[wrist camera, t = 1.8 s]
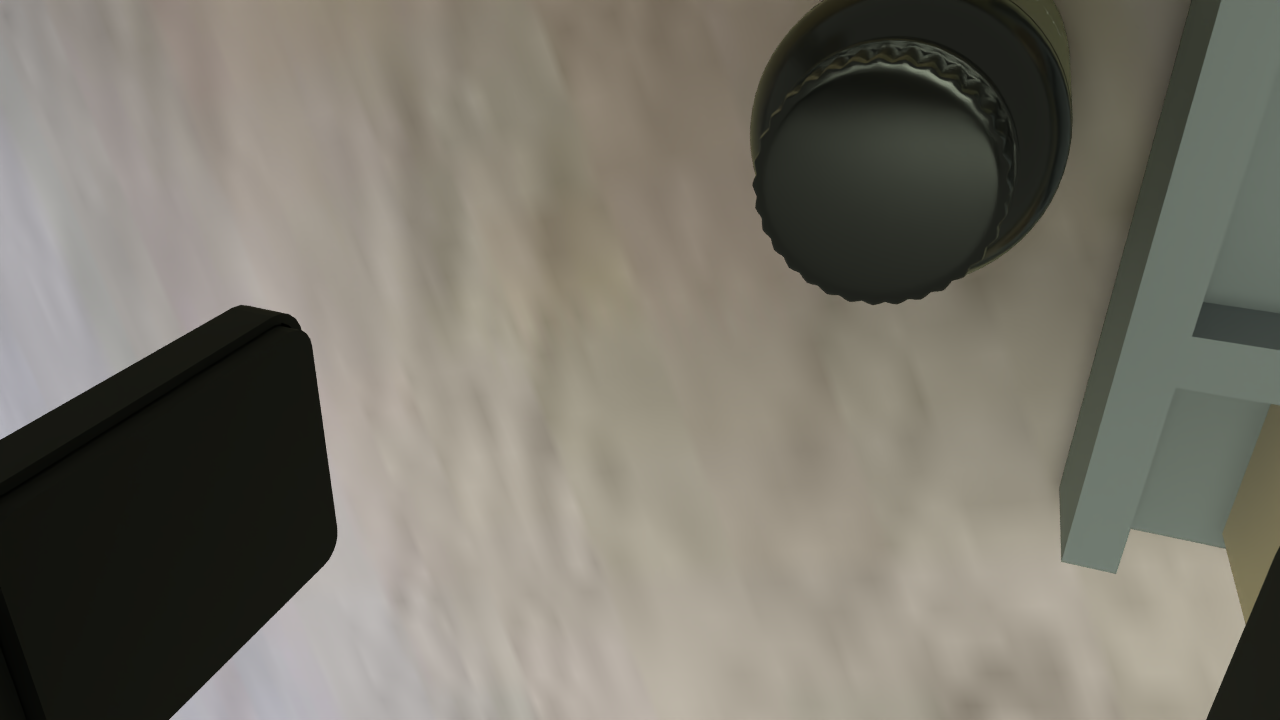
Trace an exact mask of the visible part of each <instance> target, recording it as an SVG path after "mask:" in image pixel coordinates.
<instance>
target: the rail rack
mask: <svg viewBox="0 0 1280 720" xmlns="http://www.w3.org/2000/svg"><path fill="white" fill-rule="evenodd" d="M1059 494H1060V530H1061V562H1065V563H1069V564H1074V565H1078V566H1083V567H1087V568H1092V569H1096V570H1101V571H1105V572H1110V573H1114V574H1116V572H1117V569H1118V566H1119V563H1120V560H1121V557H1122V554H1123V551H1124V547H1125V544H1126V541H1127V538H1128V535H1129V532H1130V529H1134V530H1139V531H1144V532H1149V533H1153V534H1158V535H1163V536H1168V537H1172V538H1177V539H1182V540H1187V541H1191V542H1196V543H1201V544H1206V545H1211V546H1215V547H1220V548H1225V549H1226V550H1227V554H1228V558H1229V562H1230V566H1231V570H1232V573H1233V577H1234V581H1235V585H1236V589H1237V593H1238V597H1239V600H1240V604H1241V608H1242V612H1243V616H1244V620H1245V624H1246V623H1247V621H1248V619H1249V616H1250V614H1251V611H1252V609H1253V607H1254V604H1255V602H1256V599H1257V597H1258V595H1259V592H1260V590H1261V587H1262V585H1263V583H1264V580H1265V578H1266V576H1267V573H1268V571H1269V568H1270V566H1271V564H1272V561H1273V559H1274V556H1275V554H1276V552H1277V550H1278V549H1279V547H1280V0H1192V2H1191V5H1190V9H1189V13H1188V16H1187V20H1186V24H1185V27H1184V31H1183V35H1182V38H1181V42H1180V46H1179V50H1178V53H1177V57H1176V61H1175V64H1174V68H1173V72H1172V75H1171V79H1170V83H1169V86H1168V90H1167V94H1166V97H1165V101H1164V105H1163V108H1162V112H1161V116H1160V119H1159V123H1158V127H1157V131H1156V134H1155V138H1154V142H1153V145H1152V149H1151V153H1150V156H1149V160H1148V164H1147V167H1146V171H1145V175H1144V178H1143V182H1142V186H1141V189H1140V193H1139V197H1138V200H1137V204H1136V208H1135V211H1134V215H1133V219H1132V223H1131V226H1130V230H1129V234H1128V237H1127V241H1126V245H1125V248H1124V252H1123V256H1122V259H1121V263H1120V267H1119V270H1118V274H1117V278H1116V281H1115V285H1114V289H1113V292H1112V296H1111V300H1110V304H1109V307H1108V311H1107V315H1106V318H1105V322H1104V326H1103V329H1102V333H1101V337H1100V340H1099V344H1098V348H1097V351H1096V355H1095V359H1094V362H1093V366H1092V370H1091V373H1090V377H1089V381H1088V384H1087V388H1086V392H1085V396H1084V399H1083V403H1082V407H1081V410H1080V414H1079V418H1078V421H1077V425H1076V429H1075V432H1074V436H1073V440H1072V443H1071V447H1070V451H1069V454H1068V458H1067V462H1066V465H1065V469H1064V473H1063V477H1062V480H1061V484H1060V488H1059Z"/></svg>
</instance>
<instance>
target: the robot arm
mask: <svg viewBox="0 0 1280 720" xmlns="http://www.w3.org/2000/svg"><path fill="white" fill-rule="evenodd" d="M336 541H337V523H336V516H335V509H334V501H333V494H332V487H331V480H330V472H329V465H328V458H327V451H326V443H325V436H324V429H323V422H322V415H321V407H320V400H319V393H318V386H317V378H316V371H315V364H314V357H313V349H312V344H311V341H310V338H309V337H308V335H307V334H306V333H305V332H303V331H302V330H301V326H300V325H299V323H298V322H297V320H296V319H295V318H294V317H292V316H291V315H289V314H285V313H280V312H275V311H271V310H266V309H261V308H256V307H251V306H244V305H239V306H236V307H234V308H231V309H229V310H228V311H226V312H224V313H222V314H221V315H219V316H217V317H215V318H214V319H212V320H210V321H208V322H207V323H205V324H203V325H201V326H200V327H198V328H196V329H194V330H193V331H191V332H189V333H187V334H186V335H184V336H182V337H180V338H179V339H177V340H175V341H173V342H171V343H170V344H168V345H166V346H164V347H163V348H161V349H159V350H157V351H156V352H154V353H152V354H150V355H149V356H147V357H145V358H143V359H142V360H140V361H138V362H136V363H135V364H133V365H131V366H129V367H128V368H126V369H124V370H122V371H121V372H119V373H117V374H115V375H114V376H112V377H110V378H108V379H107V380H105V381H103V382H101V383H99V384H98V385H96V386H94V387H92V388H91V389H89V390H87V391H85V392H84V393H82V394H80V395H78V396H77V397H75V398H73V399H71V400H70V401H68V402H66V403H64V404H63V405H61V406H59V407H57V408H56V409H54V410H52V411H50V412H49V413H47V414H45V415H43V416H42V417H40V418H38V419H36V420H35V421H33V422H31V423H29V424H28V425H26V426H24V427H22V428H20V429H19V430H17V431H15V432H13V433H12V434H10V435H8V436H6V437H5V438H3V439H1V440H0V720H169V719H170V718H171V717H172V716H173V715H174V714H175V713H176V712H177V711H178V710H179V709H180V708H181V707H182V706H183V705H184V704H185V703H186V702H187V701H188V700H189V699H190V698H191V697H192V696H193V695H194V694H195V693H196V692H197V691H198V690H199V689H200V688H201V687H202V686H203V685H204V684H205V683H206V682H207V681H208V680H209V679H210V678H211V677H212V676H213V675H214V674H215V673H216V672H217V671H218V670H219V669H220V668H221V667H222V666H223V665H224V664H225V663H226V662H227V661H228V660H229V659H230V658H231V657H232V656H233V655H234V654H235V653H236V652H237V651H238V650H239V649H240V648H241V647H242V646H243V645H244V644H245V643H247V642H248V641H249V640H250V639H251V638H252V637H253V636H254V635H255V634H256V633H257V632H258V631H259V630H260V629H261V628H262V627H263V626H264V625H265V624H266V623H267V622H268V621H269V620H270V619H271V618H272V617H273V616H274V615H275V614H276V613H277V612H278V611H279V610H280V609H281V608H282V607H283V606H284V605H285V604H286V603H287V602H288V601H289V600H290V599H291V598H292V597H293V596H294V595H295V594H296V593H297V592H298V591H299V590H300V589H301V588H302V587H303V586H304V585H305V584H306V583H307V582H308V581H309V580H310V579H311V578H312V577H313V576H314V575H315V574H316V573H317V572H318V571H319V570H320V569H321V568H322V567H323V566H324V565H325V564H326V562H327V561H328V560H329V558H330V557H331V555H332V553H333V551H334V548H335V545H336ZM1206 720H1280V547H1279V549H1278V550H1277V552H1276V554H1275V556H1274V559H1273V561H1272V564H1271V566H1270V568H1269V571H1268V573H1267V576H1266V578H1265V580H1264V583H1263V585H1262V587H1261V590H1260V592H1259V595H1258V597H1257V599H1256V602H1255V604H1254V607H1253V609H1252V611H1251V614H1250V616H1249V619H1248V621H1247V623H1246V626H1245V628H1244V631H1243V633H1242V635H1241V638H1240V640H1239V643H1238V645H1237V647H1236V650H1235V652H1234V654H1233V657H1232V659H1231V662H1230V664H1229V666H1228V669H1227V671H1226V674H1225V676H1224V678H1223V681H1222V683H1221V686H1220V688H1219V690H1218V693H1217V695H1216V698H1215V700H1214V702H1213V705H1212V707H1211V710H1210V712H1209V714H1208V717H1207V719H1206Z"/></svg>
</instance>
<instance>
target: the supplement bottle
mask: <svg viewBox="0 0 1280 720" xmlns="http://www.w3.org/2000/svg"><path fill="white" fill-rule="evenodd" d="M1072 121H1073V117H1072V94H1071V72H1070V53H1069V46H1068V40H1067V35H1066V31H1065V27H1064V24H1063V21H1062V18H1061V16H1060V13H1059V11H1058V9H1057V7H1056V5H1055V3H1054V1H1053V0H823V1H822V2H820V3H819V4H818V5H816V6H815V7H814V8H813V9H811V10H810V11H809V12H808V13H807V14H806V15H805V16H804V17H803V18H802V19H801V20H800V21H799V22H798V23H797V24H796V25H795V26H794V27H793V28H792V29H791V30H790V31H789V33H788V34H787V35H786V36H785V37H784V39H783V40H782V41H781V43H780V44H779V45H778V47H777V48H776V50H775V51H774V53H773V55H772V56H771V58H770V60H769V62H768V64H767V66H766V68H765V70H764V72H763V75H762V77H761V79H760V82H759V85H758V88H757V91H756V95H755V99H754V104H753V108H752V116H751V125H750V145H751V156H752V162H753V167H754V171H755V175H756V176H755V178H754V181H753V188H754V191H755V193H756V196H757V199H756V207H755V208H756V210H757V212H758V213H759V214H760V216H761V217H762V228H763V231H764V232H765V233H766V234H767V235H768V236H769V237H770V238H771V241H772V245H773V248H774V250H775V251H776V252H777V253H778V254H780V255H782V256H783V257H784V259H785V261H786V263H787V265H788V267H789V268H791V269H792V270H794V271H797V272H799V273H800V274H801V276H802V277H803V278H804V280H805V281H806V282H807V283H810V284H814V285H818V286H819V287H820V288H821V289H822V290H823V291H824V292H825V293H826V294H830V295H840V296H841V297H843V298H844V299H845V300H847V301H849V302H855V301H864V302H866V303H868V304H871V305H876V304H880V303H883V302H888V303H892V304H899V303H901V302H904V301H905V300H907V299H914V300H917V299H922V298H924V297H925V296H927V295H928V294H929V293H930V292H934V291H942V290H944V289H945V288H946V287H947V286H948V285H949V284H950V283H951V281H953V280H957V279H960V278H963V277H965V276H966V275H967V274H970V273H972V272H974V271H976V270H978V269H980V268H983V267H984V266H986V265H988V264H989V263H991V262H993V261H995V260H996V259H998V258H999V257H1000V256H1002V255H1003V254H1005V253H1006V252H1007V251H1009V250H1010V249H1011V248H1012V247H1014V246H1015V245H1016V244H1017V243H1018V242H1019V241H1020V240H1022V239H1023V238H1024V236H1025V235H1026V234H1027V233H1028V232H1029V231H1030V230H1031V229H1032V228H1033V227H1034V225H1035V224H1036V223H1037V222H1038V220H1039V219H1040V218H1041V217H1042V215H1043V214H1044V212H1045V210H1046V209H1047V207H1048V206H1049V204H1050V203H1051V201H1052V199H1053V197H1054V195H1055V193H1056V191H1057V189H1058V187H1059V184H1060V181H1061V179H1062V176H1063V173H1064V170H1065V166H1066V163H1067V159H1068V155H1069V150H1070V144H1071V138H1072Z"/></svg>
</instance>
